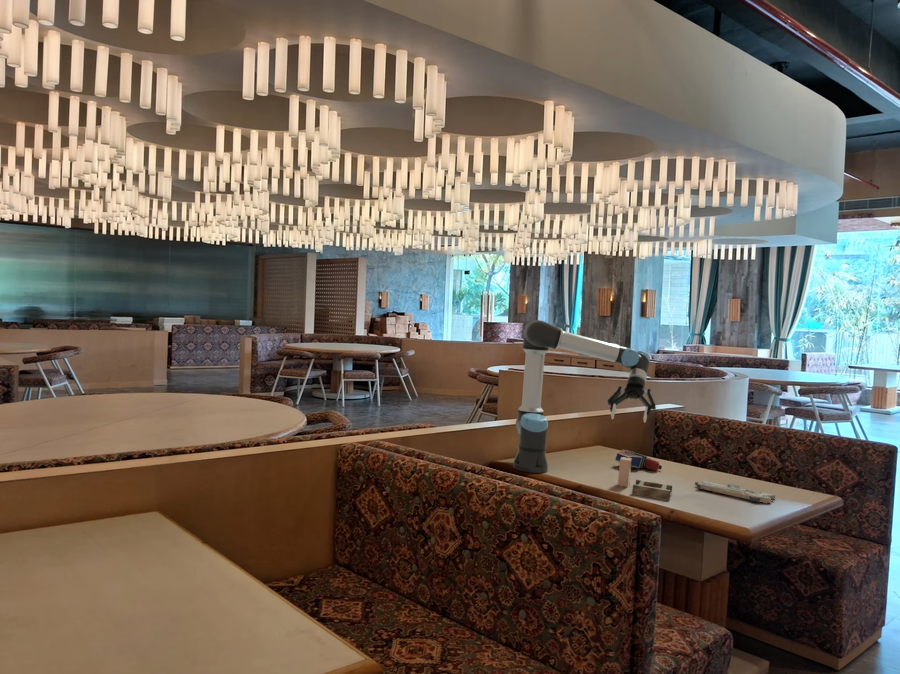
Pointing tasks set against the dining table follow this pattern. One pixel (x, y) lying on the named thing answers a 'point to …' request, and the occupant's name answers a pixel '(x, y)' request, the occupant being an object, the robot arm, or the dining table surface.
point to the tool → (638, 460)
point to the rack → (652, 489)
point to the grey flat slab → (736, 491)
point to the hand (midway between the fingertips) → (628, 419)
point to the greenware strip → (624, 471)
